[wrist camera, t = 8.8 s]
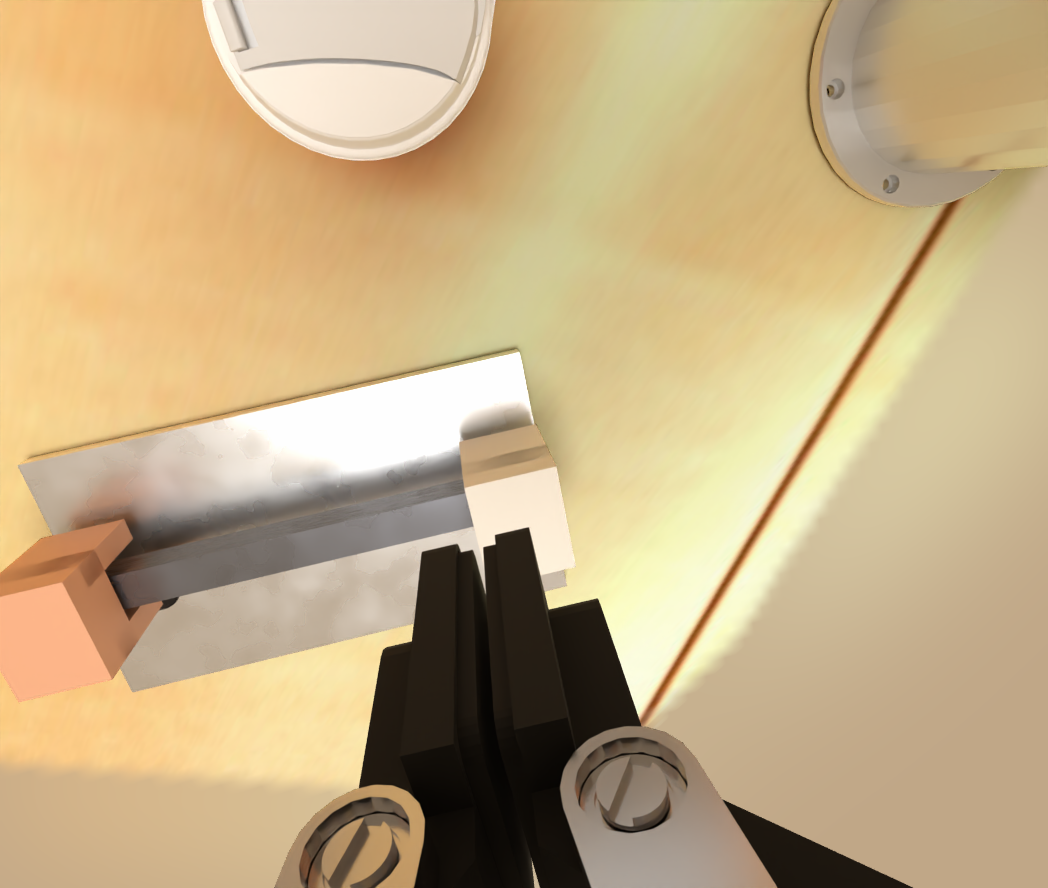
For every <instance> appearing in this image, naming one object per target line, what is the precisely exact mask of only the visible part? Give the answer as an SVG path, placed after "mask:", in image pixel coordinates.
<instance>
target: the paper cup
mask: <svg viewBox="0 0 1048 888" xmlns="http://www.w3.org/2000/svg"><path fill="white" fill-rule="evenodd" d="M495 1H496V0H202V4H203V10H204V17H205V21H206V24H207V28H208V31H209V34H210V38H211V41H212V44H213V46H214V49H215V51H216V53H217V55H218V57H219V60H220V62H221V64H222V66H223V68H224V70H225V72H226V73H227V75H228V76H229V78H230V80H231V81H232V83H233V85H234V86H235V88H236V89H237V91H238V92H239V93H240V94H241V96H242V97H243V98H244V99H245V101H246V102H247V103H248V104H249V105H250V107H251V108H252V109H253V110H254V111H255V112H256V113H257V114H258V115H259V116H260V117H261V118H263V119H264V120H265V121H266V122H267V123H268V124H269V125H270V126H271V127H273V128H274V129H276V130H277V131H278V132H280V133H281V134H283V135H284V136H286V137H287V138H288V139H290V140H292V141H294V142H296V143H298V144H300V145H302V146H304V147H306V148H308V149H310V150H312V151H315V152H318V153H321V154H324V155H327V156H330V157H334V158H340V159H347V160H353V161H368V160H380V159H386V158H391V157H396V156H399V155H402V154H405V153H407V152H410V151H413V150H415V149H417V148H419V147H421V146H422V145H424V144H426V143H427V142H429V141H431V140H433V139H434V138H435V137H436V136H438V135H439V134H440V133H441V132H442V131H444V130H445V129H446V128H447V127H448V126H449V125H450V124H451V123H452V122H453V121H454V120H455V118H456V117H457V116H458V115H459V114H460V113H461V111H462V110H463V109H464V107H465V106H466V104H467V103H468V101H469V99H470V98H471V96H472V94H473V93H474V91H475V89H476V87H477V84H478V82H479V79H480V77H481V75H482V72H483V70H484V66H485V62H486V58H487V55H488V51H489V47H490V38H491V29H492V20H493V14H494V7H495Z"/></svg>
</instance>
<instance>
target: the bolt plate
mask: <svg viewBox="0 0 1048 888" xmlns="http://www.w3.org/2000/svg"><path fill="white" fill-rule="evenodd" d="M530 425H534V421H533V416H532V411H531V406H530V402H529V397H528V392H527V387H526V382H525V377H524V372H523V367H522V362H521V357H520V352H519V351H518V349H514V350H509V351H505V352H500V353H496V354H491V355H487V356H482V357H478V358H473V359H469V360H464V361H460V362H456V363H451V364H447V365H442V366H438V367H433V368H429V369H424V370H420V371H415V372H411V373H406V374H402V375H398V376H393V377H389V378H384V379H380V380H375V381H371V382H366V383H362V384H357V385H353V386H348V387H344V388H339V389H335V390H331V391H326V392H322V393H317V394H313V395H308V396H304V397H299V398H295V399H290V400H286V401H281V402H277V403H272V404H268V405H264V406H259V407H255V408H250V409H246V410H241V411H237V412H232V413H228V414H223V415H219V416H214V417H210V418H205V419H201V420H197V421H192V422H188V423H183V424H179V425H174V426H170V427H165V428H161V429H156V430H152V431H147V432H143V433H139V434H134V435H130V436H125V437H121V438H116V439H112V440H107V441H103V442H98V443H94V444H89V445H85V446H80V447H76V448H72V449H67V450H63V451H58V452H54V453H49V454H45V455H40V456H36V457H31V458H28V459H27V460H25V461H23V462H22V463H20V464H19V465H17V466H18V468H19V469H20V471H21V473H22V475H23V477H24V479H25V481H26V483H27V485H28V487H29V489H30V491H31V493H32V495H33V497H34V499H35V501H36V503H37V505H38V507H39V509H40V511H41V513H42V515H43V517H44V519H45V521H46V523H47V525H48V527H49V529H50V531H51V533H52V535H57V534H62V533H66V532H70V531H75V530H79V529H83V528H88V527H92V526H96V525H101V524H105V523H109V522H114V521H118V520H122V519H124V520H125V522H126V524H127V527H128V529H129V531H130V533H131V535H132V537H133V539H132V540H131V541H130V542H129V544H128V545H127V546H126V547H125V548H124V549H123V550H122V551H121V553H120V554H119V555H118V556H117V557H116V558H115V559H114V560H118V559H123V558H127V557H131V556H135V555H140V554H144V553H148V552H153V551H157V550H161V549H165V548H170V547H174V546H178V545H182V544H187V543H191V542H195V541H200V540H204V539H208V538H212V537H217V536H221V535H225V534H230V533H234V532H238V531H242V530H247V529H251V528H255V527H259V526H264V525H268V524H272V523H277V522H281V521H285V520H289V519H294V518H298V517H302V516H307V515H311V514H315V513H319V512H324V511H328V510H332V509H336V508H341V507H345V506H349V505H354V504H358V503H362V502H366V501H371V500H375V499H379V498H384V497H388V496H392V495H396V494H401V493H405V492H409V491H413V490H418V489H422V488H426V487H431V486H435V485H439V484H443V483H448V482H452V481H456V480H461V479H463V474H462V465H461V457H460V448H459V442H461V441H465V440H469V439H474V438H478V437H482V436H487V435H491V434H495V433H500V432H504V431H508V430H513V429H517V428H521V427H526V426H530ZM453 544H458V545H459V548H460V550H461V552H464V551H469V550H473V551H474V554H475V557H476V560H477V564H478V568H479V571H480V575H481V579H482V582H483V586H484V590H485V593H486V587H485V571H484V565H483V561H482V557H481V553H480V549H479V545H478V541H477V537H476V533H475V529H474V527H470V528H465V529H461V530H457V531H453V532H449V533H444V534H440V535H436V536H432V537H428V538H423V539H419V540H415V541H411V542H407V543H402V544H398V545H394V546H390V547H386V548H381V549H377V550H373V551H369V552H365V553H360V554H356V555H352V556H348V557H344V558H339V559H335V560H331V561H327V562H322V563H318V564H314V565H310V566H306V567H301V568H297V569H293V570H289V571H285V572H280V573H276V574H272V575H268V576H264V577H259V578H255V579H251V580H247V581H243V582H238V583H234V584H230V585H226V586H222V587H217V588H213V589H209V590H205V591H201V592H196V593H192V594H188V595H184V596H180V597H175V598H171V599H167V600H163V601H162V603H163V605H162V606H161V608H160V609H159V611H158V612H157V614H156V615H155V617H154V618H153V620H152V621H151V623H150V624H149V626H148V627H147V629H146V630H145V632H144V633H143V635H142V636H141V638H140V639H139V641H138V642H137V644H136V645H135V647H134V648H133V650H132V651H131V653H130V654H129V656H128V657H127V659H126V660H125V661H124V663H123V664H122V666H121V667H120V669H121V671H122V673H123V675H124V677H125V679H126V681H127V683H128V685H129V687H130V688H131V690H132V692H136V691H140V690H144V689H148V688H152V687H156V686H161V685H165V684H169V683H173V682H177V681H181V680H185V679H189V678H193V677H197V676H201V675H205V674H210V673H214V672H218V671H222V670H226V669H230V668H234V667H238V666H242V665H246V664H250V663H255V662H259V661H263V660H267V659H271V658H275V657H279V656H283V655H287V654H291V653H295V652H299V651H304V650H308V649H312V648H316V647H320V646H324V645H328V644H332V643H336V642H340V641H344V640H348V639H353V638H357V637H361V636H365V635H369V634H373V633H377V632H381V631H385V630H389V629H393V628H397V627H402V626H406V625H410V624H414V618H415V609H416V599H417V590H418V580H419V571H420V561H421V554H422V552H423V551H427V550H431V549H436V548H440V547H444V546H449V545H453ZM114 560H113V561H114ZM541 580H542V584H543V588H544V592H545V591H549V590H553V589H557V588H561V587H565V586H567V584H566V579H565V574H564V570H561V571H557V572H552V573H548V574H544V575H541Z"/></svg>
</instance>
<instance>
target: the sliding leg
mask: <svg viewBox="0 0 1048 888" xmlns="http://www.w3.org/2000/svg"><path fill="white" fill-rule="evenodd" d="M132 539H133V537H132V535H131V533H130V531H129V529H128V527H127V524H126V522H125V520H124V519H122V520H118V521H114V522H109V523H105V524H101V525H96V526H92V527H88V528H83V529H79V530H75V531H70V532H66V533H62V534H57V535H53V536H49V537H44V538H41V539H40V540H39V541H37V542H36V543H35V544H34V545H33V546H32V547H30V548H29V549H28V550H27V551H26V552H25V553H23V554H22V555H21V556H20V557H19V558H18V559H16V560H15V561H14V562H13V563H12V564H11V565H9V566H8V567H7V568H6V569H5V570H3V571H2V572H1V573H0V671H1V673H2V675H3V676H4V678H5V680H6V681H7V683H8V685H9V687H10V688H11V690H12V692H13V693H14V695H15V697H16V699H17V700H18V702H22V701H26V700H31V699H35V698H39V697H43V696H47V695H51V694H55V693H59V692H63V691H68V690H72V689H76V688H80V687H84V686H88V685H92V684H96V683H100V682H105V681H109V680H112V679H113V678H114V676H115V675H116V673H117V672H118V670H119V669H120V667H121V666H122V664H123V663H124V661H125V660H126V659H127V657H128V656H129V654H130V653H131V651H132V650H133V648H134V647H135V645H136V644H137V642H138V641H139V639H140V638H141V636H142V635H143V633H144V632H145V630H146V629H147V627H148V626H149V624H150V623H151V621H152V620H153V618H154V617H155V615H156V614H157V612H158V611H159V609H160V608H161V606H162V605H163V603H162V601H159V602H154V603H150V604H146V605H142V606H138V607H133V608H129V609H125V610H124V609H123V607H122V605H121V603H120V601H119V599H118V597H117V595H116V593H115V591H114V589H113V587H112V585H111V583H110V581H109V579H108V576H107V574H106V572H105V569H106V568H107V567H108V566H109V565H110V564H111V563H112V561H113V560H114V559H115V558H116V557H117V556H118V555H119V554H120V553H121V551H122V550H123V549H124V548H125V547H126V546H127V545H128V544H129V542H130V541H131V540H132Z"/></svg>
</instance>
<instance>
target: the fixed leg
mask: <svg viewBox="0 0 1048 888" xmlns="http://www.w3.org/2000/svg"><path fill="white" fill-rule="evenodd" d="M459 448H460V457H461V465H462V474H463V482H464V489H465V493H466V497H467V501H468V505H469V509H470V513H471V517H472V521H473V525H474V529H475V533H476V537H477V541H478V545H479V549H480V553H481V557H482V561H483V565H484V556H483V547H486V546H490V545H495V535H496V534H501V533H505V532H509V531H514V530H518V529H522V528H527V527H529V529H530V533H531V537H532V541H533V546H534V550H535V554H536V558H537V563H538V567H539V571H540V575H544V574H548V573H552V572H557V571H561V570H565V569H569V568H573V567H576V565H575V560H574V555H573V550H572V544H571V539H570V534H569V529H568V524H567V519H566V514H565V508H564V503H563V498H562V493H561V488H560V483H559V478H558V472H557V467H556V465H555V463H554V461H553V458H552V456H551V454H550V452H549V450H548V448H547V446H546V444H545V442H544V440H543V438H542V436H541V433H540V431H539V429H538V427H537V425H536V424H534V425H530V426H526V427H521V428H517V429H513V430H508V431H504V432H500V433H495V434H491V435H487V436H482V437H478V438H474V439H469V440H465V441H461V442H459Z"/></svg>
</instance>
